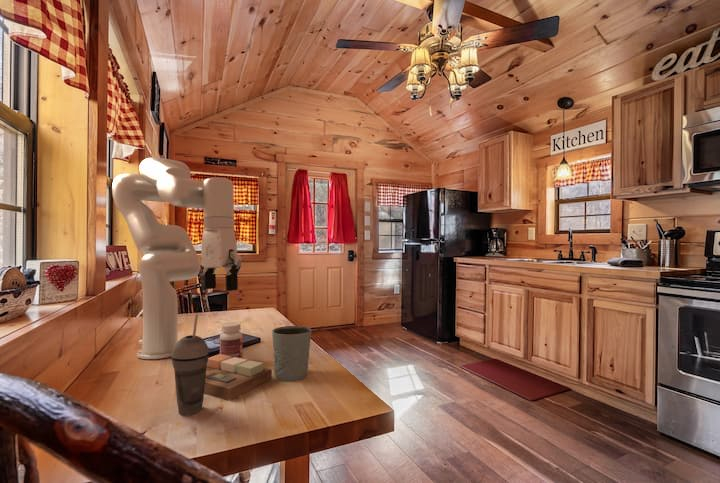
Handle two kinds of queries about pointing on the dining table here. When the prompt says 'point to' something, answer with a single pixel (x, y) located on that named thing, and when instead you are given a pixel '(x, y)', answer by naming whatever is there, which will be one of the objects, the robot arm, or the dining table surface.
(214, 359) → the key terracotta
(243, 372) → the key sage
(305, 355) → the grey green cup
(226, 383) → the keypad board
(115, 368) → the dining table surface
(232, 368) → the key cream
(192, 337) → the beverage cup
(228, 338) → the pill bottle
